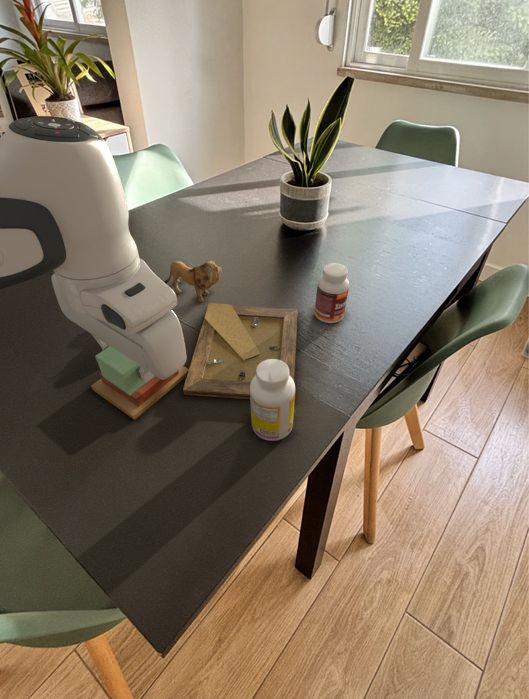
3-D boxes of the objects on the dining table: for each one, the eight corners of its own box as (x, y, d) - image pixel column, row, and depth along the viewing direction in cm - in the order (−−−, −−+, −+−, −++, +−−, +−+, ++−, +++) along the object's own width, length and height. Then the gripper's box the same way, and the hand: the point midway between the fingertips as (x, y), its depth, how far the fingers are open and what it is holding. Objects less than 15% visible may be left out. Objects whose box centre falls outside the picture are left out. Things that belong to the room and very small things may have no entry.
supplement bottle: (279, 403, 72) (282, 348, 63) (300, 432, 67) (306, 377, 59) (244, 418, 69) (241, 363, 61) (263, 449, 65) (263, 394, 56)
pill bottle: (337, 328, 86) (344, 282, 78) (309, 318, 88) (313, 273, 80) (348, 311, 90) (356, 266, 82) (321, 302, 92) (326, 258, 84)
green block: (129, 395, 55) (122, 374, 52) (103, 376, 58) (94, 355, 55) (161, 371, 58) (156, 350, 56) (134, 354, 61) (128, 333, 58)
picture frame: (209, 309, 90) (184, 395, 73) (208, 303, 89) (182, 388, 72) (297, 314, 89) (292, 403, 72) (297, 308, 88) (293, 396, 71)
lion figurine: (226, 293, 94) (224, 258, 88) (215, 307, 91) (212, 271, 85) (170, 278, 98) (163, 244, 92) (157, 291, 95) (149, 255, 89)
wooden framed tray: (134, 420, 69) (130, 408, 67) (92, 389, 74) (87, 377, 72) (190, 373, 77) (188, 361, 75) (148, 348, 81) (145, 336, 79)
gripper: (25, 260, 50) (63, 346, 60) (140, 330, 41) (164, 417, 51) (71, 239, 54) (100, 323, 63) (187, 298, 45) (201, 386, 54)
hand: (129, 366), depth 57 cm, fingers closed on green block, 5 cm apart
